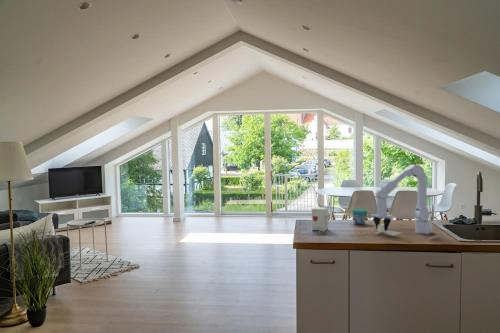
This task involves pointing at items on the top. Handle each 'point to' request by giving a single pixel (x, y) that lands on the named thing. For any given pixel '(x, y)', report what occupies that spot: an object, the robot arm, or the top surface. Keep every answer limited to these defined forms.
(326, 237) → the top surface
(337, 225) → the top surface
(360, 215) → the snack cup
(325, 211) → the supplement box
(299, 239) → the top surface
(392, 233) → the board
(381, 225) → the cap
